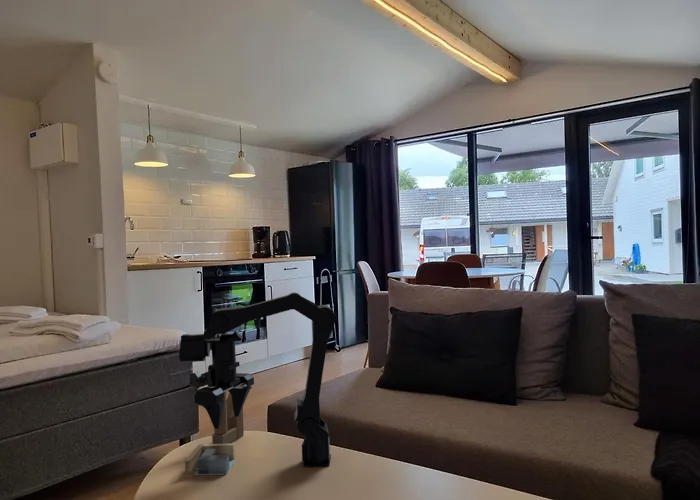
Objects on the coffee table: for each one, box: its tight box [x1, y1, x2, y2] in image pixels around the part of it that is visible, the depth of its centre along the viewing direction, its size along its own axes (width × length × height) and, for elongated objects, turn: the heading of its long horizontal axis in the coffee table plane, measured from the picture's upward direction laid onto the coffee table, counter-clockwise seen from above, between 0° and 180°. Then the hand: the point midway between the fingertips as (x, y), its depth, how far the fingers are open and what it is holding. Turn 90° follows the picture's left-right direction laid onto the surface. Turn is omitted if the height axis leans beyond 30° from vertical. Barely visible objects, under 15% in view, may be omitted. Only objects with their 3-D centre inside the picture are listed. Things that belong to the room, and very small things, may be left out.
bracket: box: [197, 449, 230, 475], centre depth 129 cm, size 7×7×4 cm
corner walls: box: [184, 442, 236, 478], centre depth 130 cm, size 9×11×4 cm
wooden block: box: [211, 386, 245, 444], centre depth 148 cm, size 4×11×18 cm, turn 160°
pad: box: [193, 459, 236, 476], centre depth 129 cm, size 8×8×1 cm
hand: (227, 422), depth 128 cm, fingers open, 9 cm apart
